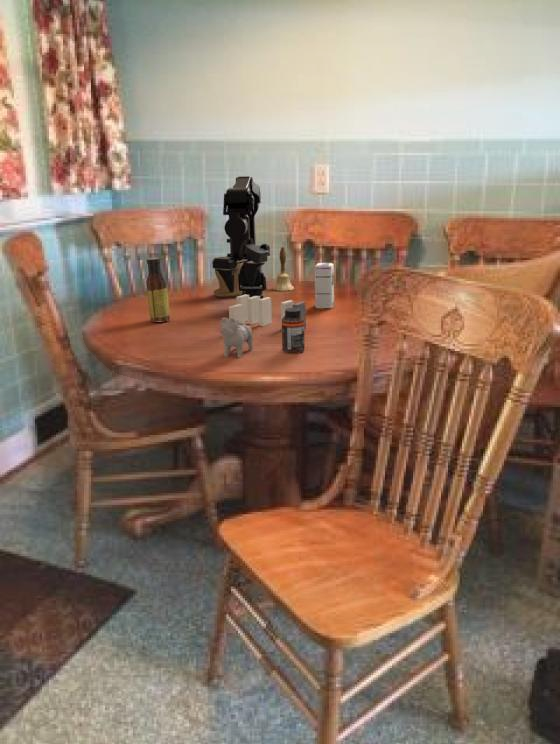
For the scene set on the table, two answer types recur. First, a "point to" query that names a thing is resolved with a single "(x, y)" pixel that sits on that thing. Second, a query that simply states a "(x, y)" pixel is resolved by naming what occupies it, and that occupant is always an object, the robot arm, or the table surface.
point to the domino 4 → (264, 311)
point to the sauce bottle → (157, 292)
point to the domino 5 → (284, 306)
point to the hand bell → (283, 275)
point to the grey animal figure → (235, 335)
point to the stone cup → (223, 288)
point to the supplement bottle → (293, 331)
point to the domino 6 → (301, 310)
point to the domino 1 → (236, 312)
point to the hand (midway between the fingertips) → (241, 289)
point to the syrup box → (324, 285)
